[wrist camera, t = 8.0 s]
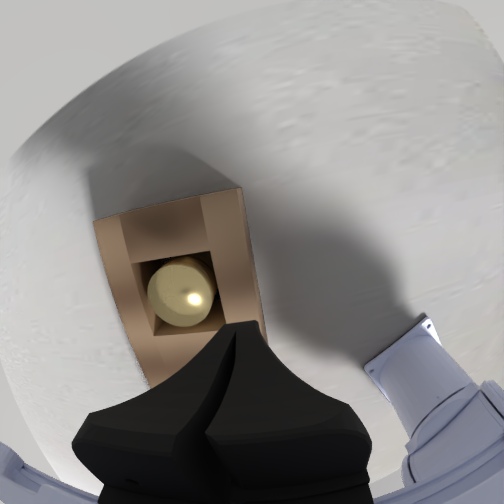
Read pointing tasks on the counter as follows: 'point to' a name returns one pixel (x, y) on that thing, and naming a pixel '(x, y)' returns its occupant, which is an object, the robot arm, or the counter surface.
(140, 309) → the block
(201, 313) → the peg
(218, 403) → the robot arm
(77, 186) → the counter surface
